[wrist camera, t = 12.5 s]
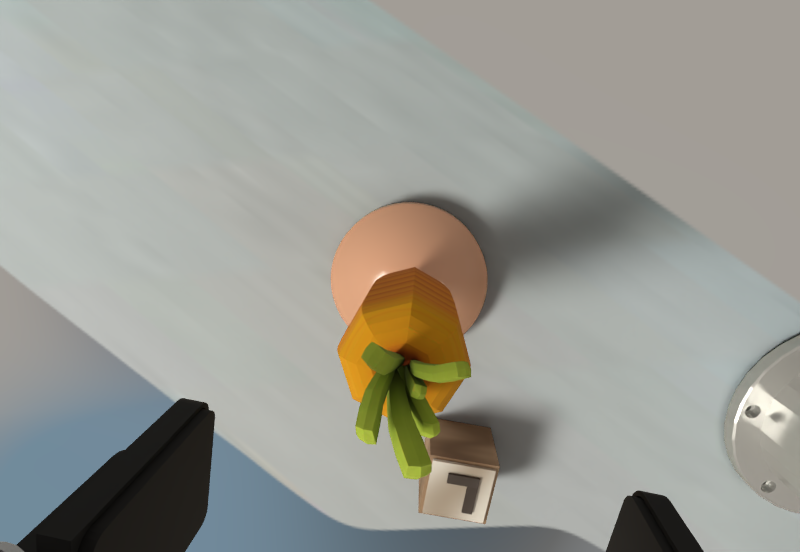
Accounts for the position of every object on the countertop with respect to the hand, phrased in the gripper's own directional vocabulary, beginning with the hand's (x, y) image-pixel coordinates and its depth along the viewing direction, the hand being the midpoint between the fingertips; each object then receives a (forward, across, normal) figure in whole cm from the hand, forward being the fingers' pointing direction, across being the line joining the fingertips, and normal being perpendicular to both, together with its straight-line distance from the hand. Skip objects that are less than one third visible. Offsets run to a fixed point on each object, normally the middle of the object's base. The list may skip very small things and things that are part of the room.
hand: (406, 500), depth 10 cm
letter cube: (+19, -4, +11) cm, 22 cm away
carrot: (+17, +1, 0) cm, 17 cm away
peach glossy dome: (+18, +1, 0) cm, 18 cm away
